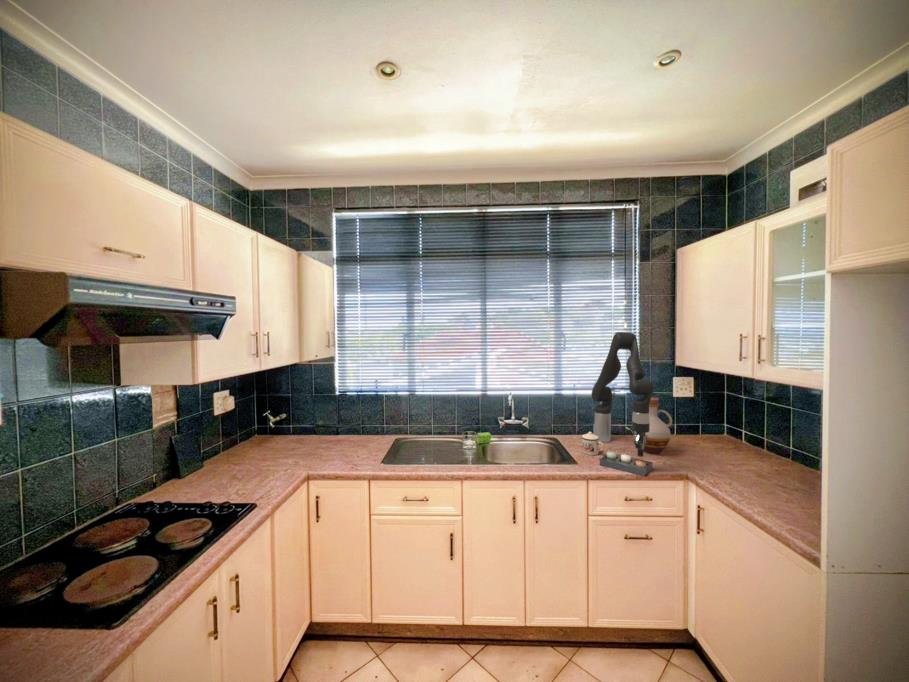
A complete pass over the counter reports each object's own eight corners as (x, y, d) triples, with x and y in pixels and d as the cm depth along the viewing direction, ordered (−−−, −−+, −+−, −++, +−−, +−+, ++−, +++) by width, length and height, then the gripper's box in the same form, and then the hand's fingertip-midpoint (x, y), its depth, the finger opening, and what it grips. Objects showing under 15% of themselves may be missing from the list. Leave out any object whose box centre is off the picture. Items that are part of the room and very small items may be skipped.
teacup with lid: (578, 452, 200) (578, 432, 199) (585, 448, 206) (585, 428, 206) (600, 458, 191) (600, 436, 191) (606, 453, 198) (606, 432, 197)
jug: (664, 446, 208) (664, 395, 207) (680, 457, 190) (680, 401, 189) (629, 445, 210) (629, 395, 209) (641, 456, 192) (642, 401, 191)
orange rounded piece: (634, 469, 174) (634, 462, 174) (637, 466, 177) (637, 459, 177) (644, 471, 171) (644, 464, 171) (647, 469, 174) (647, 462, 174)
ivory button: (619, 462, 179) (619, 455, 179) (622, 460, 182) (622, 453, 182) (628, 465, 176) (628, 458, 176) (631, 462, 179) (631, 455, 179)
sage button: (605, 459, 184) (605, 452, 184) (608, 457, 187) (608, 450, 187) (614, 461, 181) (614, 454, 181) (617, 459, 184) (617, 452, 184)
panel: (599, 465, 182) (599, 459, 182) (609, 458, 191) (609, 452, 191) (644, 476, 167) (644, 470, 167) (652, 468, 177) (652, 462, 176)
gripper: (636, 417, 181) (636, 450, 182) (628, 422, 171) (627, 458, 172) (653, 419, 176) (652, 454, 176) (645, 425, 166) (644, 462, 167)
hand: (640, 456), depth 174 cm, fingers closed
